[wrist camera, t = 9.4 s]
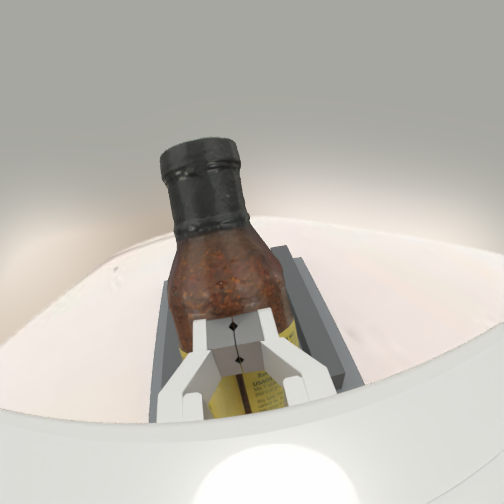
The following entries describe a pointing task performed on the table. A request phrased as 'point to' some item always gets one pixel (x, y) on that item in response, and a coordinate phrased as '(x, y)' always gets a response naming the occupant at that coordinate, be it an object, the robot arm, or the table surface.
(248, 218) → the sauce bottle
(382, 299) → the table surface
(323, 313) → the holder
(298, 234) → the table surface
